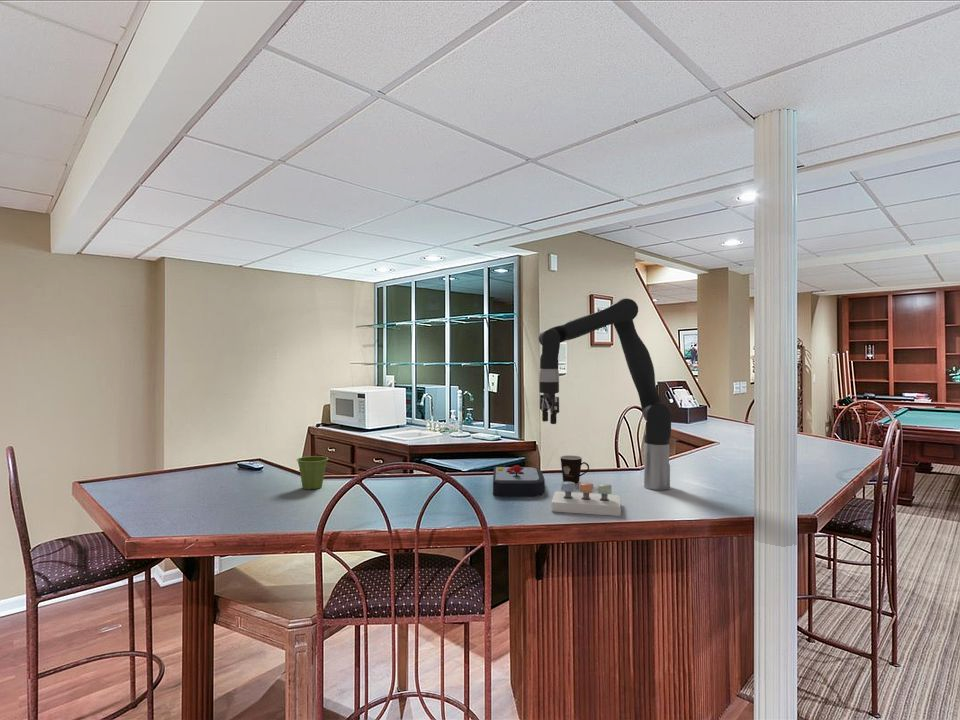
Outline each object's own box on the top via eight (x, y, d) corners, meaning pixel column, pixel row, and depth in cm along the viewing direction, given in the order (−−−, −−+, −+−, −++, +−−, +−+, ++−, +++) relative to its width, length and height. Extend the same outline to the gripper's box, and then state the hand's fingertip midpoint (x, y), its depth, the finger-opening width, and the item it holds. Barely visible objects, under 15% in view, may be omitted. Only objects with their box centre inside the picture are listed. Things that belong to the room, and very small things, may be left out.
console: (619, 503, 182) (619, 495, 182) (620, 515, 168) (620, 506, 168) (555, 499, 187) (555, 491, 187) (551, 511, 173) (551, 502, 173)
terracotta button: (593, 499, 179) (593, 482, 179) (593, 503, 175) (593, 486, 175) (579, 498, 180) (579, 482, 180) (578, 502, 176) (579, 485, 176)
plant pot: (323, 491, 198) (323, 461, 197) (291, 491, 198) (291, 461, 198) (332, 484, 209) (332, 455, 209) (302, 483, 210) (302, 455, 210)
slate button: (575, 498, 180) (575, 481, 180) (574, 501, 176) (574, 485, 176) (561, 497, 182) (561, 481, 181) (560, 501, 177) (560, 484, 177)
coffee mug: (556, 480, 215) (556, 456, 215) (573, 478, 219) (573, 454, 219) (572, 487, 205) (572, 461, 205) (590, 484, 208) (590, 459, 208)
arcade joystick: (546, 498, 190) (546, 470, 190) (492, 497, 191) (492, 470, 191) (540, 479, 218) (540, 455, 218) (493, 479, 219) (493, 455, 219)
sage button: (611, 500, 178) (611, 483, 178) (611, 504, 173) (611, 487, 173) (597, 499, 179) (597, 483, 179) (597, 503, 174) (597, 486, 174)
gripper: (565, 381, 197) (565, 424, 197) (551, 379, 210) (551, 420, 211) (546, 381, 195) (546, 425, 195) (533, 379, 209) (533, 420, 209)
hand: (549, 422), depth 203 cm, fingers open, 8 cm apart
